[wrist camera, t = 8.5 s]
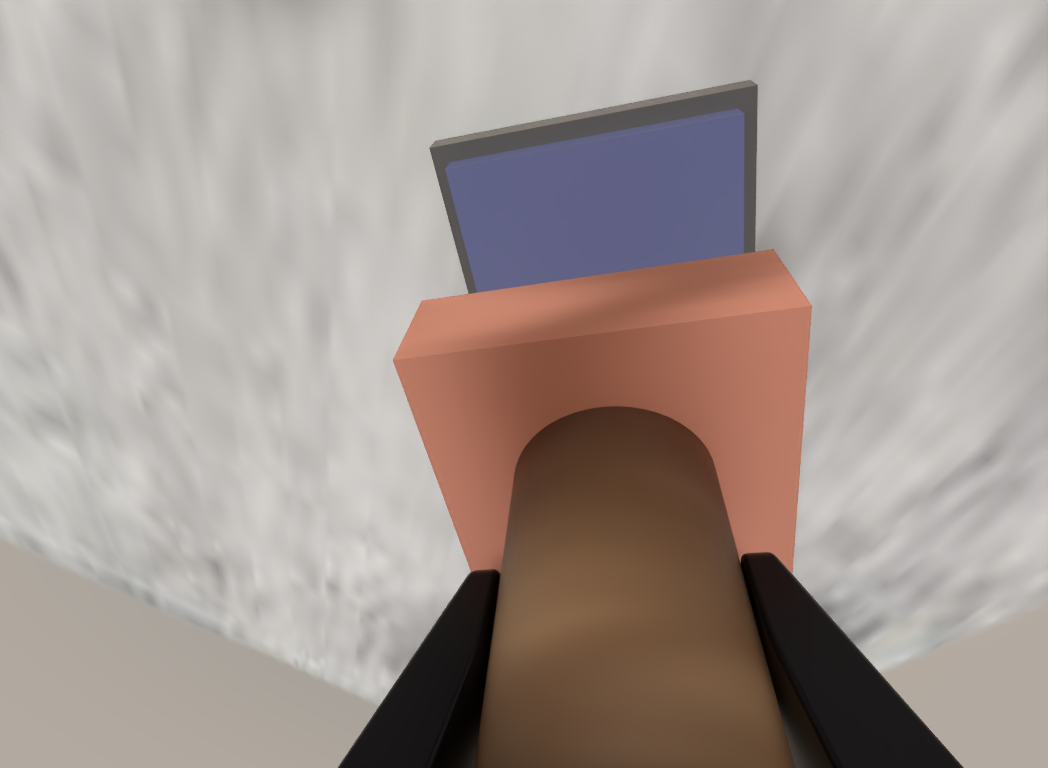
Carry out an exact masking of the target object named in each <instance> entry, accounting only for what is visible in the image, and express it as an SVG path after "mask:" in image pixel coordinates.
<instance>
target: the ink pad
mask: <svg viewBox="0 0 1048 768" xmlns="http://www.w3.org/2000/svg"><path fill="white" fill-rule="evenodd" d="M757 90H758V85H757V84H755V83H754V82H752V81H751V80H748V81H743V82H738V83H733V84H728V85H723V86H717V87H712V88H707V89H702V90H697V91H691V92H686V93H681V94H676V95H671V96H666V97H660V98H655V99H650V100H645V101H640V102H635V103H629V104H624V105H619V106H614V107H609V108H604V109H598V110H593V111H588V112H583V113H578V114H573V115H567V116H562V117H557V118H552V119H547V120H541V121H536V122H531V123H526V124H521V125H516V126H510V127H505V128H500V129H495V130H490V131H485V132H479V133H474V134H469V135H464V136H459V137H454V138H448V139H443V140H438V141H435V142H434V143H433V144H432V146H431V147H430V152H431V155H432V159H433V163H434V167H435V170H436V174H437V178H438V181H439V185H440V189H441V193H442V196H443V200H444V204H445V207H446V211H447V215H448V219H449V222H450V226H451V230H452V233H453V237H454V241H455V245H456V248H457V252H458V256H459V259H460V263H461V267H462V271H463V274H464V278H465V282H466V285H467V289H468V293H469V294H472V293H479V292H486V291H493V290H499V289H506V288H513V287H520V286H527V285H533V284H540V283H547V282H554V281H561V280H568V279H574V278H581V277H588V276H595V275H602V274H608V273H615V272H622V271H629V270H636V269H642V268H649V267H656V266H663V265H670V264H676V263H683V262H690V261H697V260H704V259H711V258H717V257H724V256H731V255H738V254H745V253H751V252H755V218H756V154H757Z"/></svg>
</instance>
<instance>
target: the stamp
mask: <svg viewBox="0 0 1048 768" xmlns="http://www.w3.org/2000/svg"><path fill="white" fill-rule="evenodd" d="M811 311H812V305H811V304H810V302H809V301H808V299H807V298H806V296H805V295H804V293H803V292H802V291H801V289H800V288H799V286H798V285H797V283H796V282H795V280H794V279H793V277H792V276H791V274H790V273H789V271H788V270H787V268H786V267H785V266H784V264H783V263H782V261H781V260H780V258H779V257H778V255H777V254H776V252H775V251H774V249H772V250H765V251H758V252H751V253H745V254H738V255H731V256H724V257H717V258H711V259H704V260H697V261H690V262H683V263H676V264H670V265H663V266H656V267H649V268H642V269H636V270H629V271H622V272H615V273H608V274H602V275H595V276H588V277H581V278H574V279H568V280H561V281H554V282H547V283H540V284H533V285H527V286H520V287H513V288H506V289H499V290H493V291H486V292H479V293H472V294H465V295H459V296H452V297H445V298H438V299H431V300H425V301H421V304H420V306H419V308H418V310H417V312H416V314H415V316H414V318H413V320H412V322H411V324H410V326H409V328H408V330H407V332H406V334H405V336H404V338H403V340H402V342H401V344H400V347H399V349H398V351H397V353H396V355H395V357H394V359H393V362H394V365H395V367H396V370H397V373H398V375H399V378H400V381H401V384H402V386H403V389H404V392H405V394H406V397H407V400H408V402H409V405H410V408H411V411H412V413H413V416H414V419H415V421H416V424H417V427H418V429H419V432H420V435H421V438H422V440H423V443H424V446H425V448H426V451H427V454H428V457H429V459H430V462H431V465H432V467H433V470H434V473H435V475H436V478H437V481H438V484H439V486H440V489H441V492H442V494H443V497H444V500H445V502H446V505H447V508H448V511H449V513H450V516H451V519H452V521H453V524H454V527H455V529H456V532H457V535H458V538H459V540H460V543H461V546H462V548H463V551H464V554H465V556H466V559H467V562H468V565H469V567H470V570H471V572H472V571H475V570H487V569H496V570H498V571H499V573H500V582H499V590H498V597H497V604H496V612H495V619H494V626H493V633H492V641H491V648H490V655H489V663H488V670H487V677H486V685H485V692H484V699H483V706H482V714H481V721H480V728H479V736H478V743H477V750H476V758H475V765H474V768H795V766H794V762H793V758H792V755H791V751H790V747H789V743H788V740H787V736H786V732H785V728H784V724H783V721H782V717H781V713H780V709H779V706H778V702H777V698H776V694H775V691H774V687H773V683H772V679H771V676H770V672H769V668H768V664H767V661H766V657H765V653H764V650H763V646H762V642H761V638H760V635H759V631H758V627H757V623H756V619H755V616H754V612H753V608H752V604H751V601H750V597H749V593H748V589H747V586H746V582H745V578H744V574H743V570H742V567H741V557H742V555H743V554H745V553H757V552H771V553H773V554H774V555H775V556H776V557H777V558H778V559H779V560H780V561H781V562H782V563H783V564H784V565H785V566H786V568H787V569H788V570H789V571H790V572H791V573H792V571H793V558H794V544H795V530H796V516H797V503H798V489H799V475H800V462H801V448H802V434H803V420H804V407H805V393H806V379H807V366H808V352H809V338H810V324H811Z"/></svg>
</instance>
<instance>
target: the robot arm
mask: <svg viewBox="0 0 1048 768" xmlns="http://www.w3.org/2000/svg"><path fill="white" fill-rule="evenodd" d="M741 567H742V570H743V574H744V578H745V582H746V586H747V589H748V593H749V597H750V601H751V604H752V608H753V612H754V616H755V619H756V623H757V627H758V631H759V635H760V638H761V642H762V646H763V650H764V653H765V657H766V661H767V664H768V668H769V672H770V676H771V679H772V683H773V687H774V691H775V694H776V698H777V702H778V706H779V709H780V713H781V717H782V721H783V724H784V728H785V732H786V736H787V740H788V743H789V747H790V751H791V755H792V758H793V762H794V766H795V768H963V766H962V765H961V764H960V763H959V762H958V761H957V760H956V759H955V757H954V756H953V755H952V754H951V753H950V752H949V751H948V750H947V749H946V747H945V746H944V745H943V744H942V743H941V742H940V741H939V740H938V738H937V737H936V736H935V735H934V734H933V733H932V731H931V730H929V728H928V727H927V726H926V725H925V724H924V722H923V721H922V720H921V719H920V718H919V717H918V716H917V715H916V713H915V712H914V711H913V710H912V709H911V708H910V707H909V705H908V704H907V703H906V702H905V701H904V700H903V699H902V698H901V697H900V695H899V694H898V693H897V692H896V691H895V690H894V689H893V688H892V686H891V685H890V684H889V683H888V682H887V681H886V679H885V678H884V677H883V676H882V675H881V674H880V673H879V672H878V670H877V669H876V668H875V667H874V666H873V665H872V664H871V663H870V661H869V660H868V659H867V658H866V657H865V656H864V655H863V653H862V652H861V651H860V650H859V649H858V648H857V647H856V646H855V644H854V643H853V642H852V641H851V640H850V639H849V638H848V637H847V635H846V634H845V633H844V632H843V631H842V630H841V629H840V628H839V626H838V625H837V624H836V623H835V622H834V621H833V620H832V618H831V617H830V616H829V615H828V614H827V613H826V612H825V611H824V609H823V608H822V607H821V606H820V605H819V604H818V603H817V602H816V600H815V599H814V598H813V597H812V596H811V595H810V594H809V592H808V591H807V590H806V589H805V588H804V587H803V586H802V585H801V583H800V582H799V581H798V580H797V579H796V578H795V577H794V576H793V574H792V573H791V572H790V571H789V570H788V569H787V568H786V566H785V565H784V564H783V563H782V562H781V561H780V560H779V559H778V558H777V557H776V556H775V555H774V554H773V553H771V552H757V553H745V554H743V555H742V557H741ZM499 582H500V573H499V571H498V570H496V569H487V570H475V571H472V572H471V573H470V574H469V575H468V576H467V577H466V579H465V580H464V582H463V583H462V585H461V586H460V588H459V589H458V591H457V592H456V594H455V595H454V596H453V598H452V599H451V601H450V602H449V604H448V605H447V607H446V608H445V610H444V611H443V613H442V614H441V616H440V617H439V619H438V620H437V622H436V623H435V625H434V626H433V628H432V629H431V631H430V632H429V633H428V635H427V636H426V638H425V639H424V641H423V642H422V644H421V645H420V647H419V648H418V650H417V651H416V653H415V654H414V656H413V657H412V659H411V660H410V662H409V663H408V665H407V666H406V667H405V669H404V670H403V672H402V673H401V675H400V676H399V678H398V679H397V681H396V682H395V684H394V685H393V687H392V688H391V690H390V691H389V693H388V694H387V696H386V697H385V699H384V700H383V702H382V703H381V704H380V706H379V707H378V709H377V710H376V712H375V713H374V715H373V716H372V718H371V719H370V721H369V722H368V724H367V725H366V727H365V728H364V730H363V731H362V733H361V734H360V736H359V737H358V738H357V740H356V741H355V743H354V745H353V746H352V747H351V749H350V751H349V752H348V754H347V755H346V756H345V758H344V759H343V761H342V762H341V764H340V765H339V767H338V768H474V765H475V758H476V750H477V743H478V736H479V728H480V721H481V714H482V706H483V699H484V692H485V685H486V677H487V670H488V663H489V655H490V648H491V641H492V633H493V626H494V619H495V612H496V604H497V597H498V590H499Z"/></svg>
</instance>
